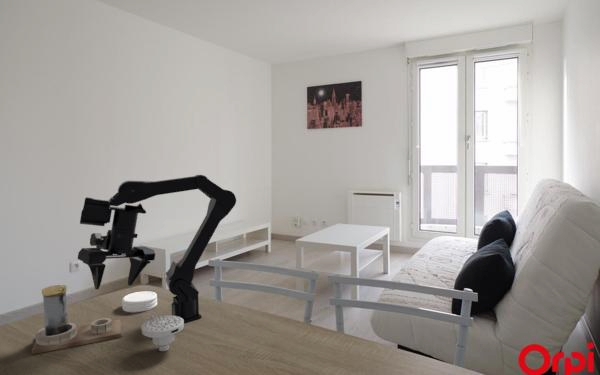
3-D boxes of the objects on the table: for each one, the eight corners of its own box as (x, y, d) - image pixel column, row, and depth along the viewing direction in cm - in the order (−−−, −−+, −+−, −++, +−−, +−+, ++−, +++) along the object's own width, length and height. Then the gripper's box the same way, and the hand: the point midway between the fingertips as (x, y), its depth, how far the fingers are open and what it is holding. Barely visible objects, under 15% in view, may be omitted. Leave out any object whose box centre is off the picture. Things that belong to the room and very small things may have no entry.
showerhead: (167, 308, 100) (191, 317, 94) (168, 336, 100) (192, 346, 94) (131, 320, 92) (156, 331, 86) (133, 350, 93) (157, 363, 87)
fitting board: (120, 322, 109) (119, 312, 109) (121, 337, 100) (120, 325, 100) (38, 337, 101) (38, 325, 100) (32, 354, 92) (31, 341, 91)
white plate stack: (163, 302, 125) (163, 291, 125) (144, 314, 115) (144, 302, 115) (136, 300, 127) (135, 289, 127) (115, 312, 117) (114, 300, 117)
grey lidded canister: (60, 331, 101) (57, 284, 100) (74, 334, 99) (71, 286, 98) (39, 340, 97) (36, 290, 96) (54, 343, 95) (51, 293, 94)
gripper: (136, 223, 116) (128, 276, 115) (71, 221, 100) (61, 282, 100) (160, 230, 109) (151, 286, 109) (95, 230, 94) (84, 294, 94)
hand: (113, 287), depth 103 cm, fingers open, 9 cm apart
